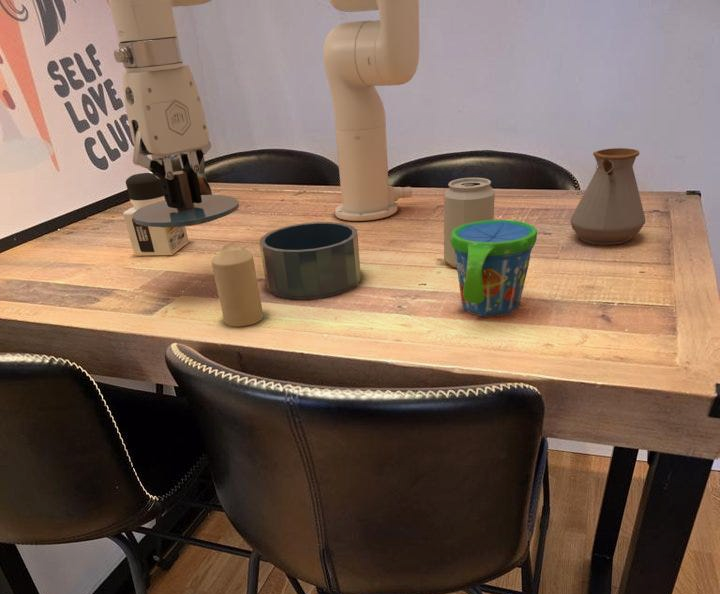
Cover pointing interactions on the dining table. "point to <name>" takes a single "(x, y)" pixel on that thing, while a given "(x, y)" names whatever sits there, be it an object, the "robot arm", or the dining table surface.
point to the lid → (185, 208)
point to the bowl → (311, 260)
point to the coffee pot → (610, 200)
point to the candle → (237, 285)
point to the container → (148, 238)
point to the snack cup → (492, 264)
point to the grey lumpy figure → (202, 180)
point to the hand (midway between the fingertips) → (184, 203)
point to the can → (465, 208)
